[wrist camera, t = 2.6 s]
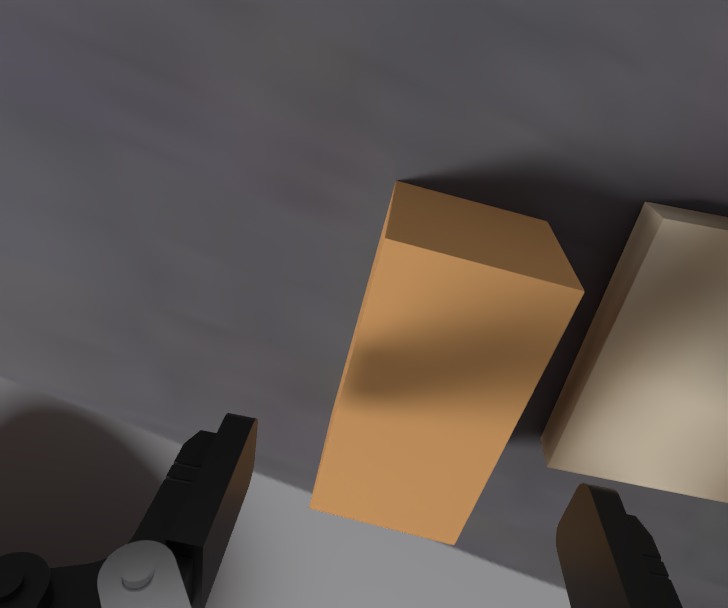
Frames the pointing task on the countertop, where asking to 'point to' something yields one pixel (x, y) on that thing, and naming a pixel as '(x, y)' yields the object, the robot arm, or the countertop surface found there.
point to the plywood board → (654, 364)
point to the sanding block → (441, 361)
